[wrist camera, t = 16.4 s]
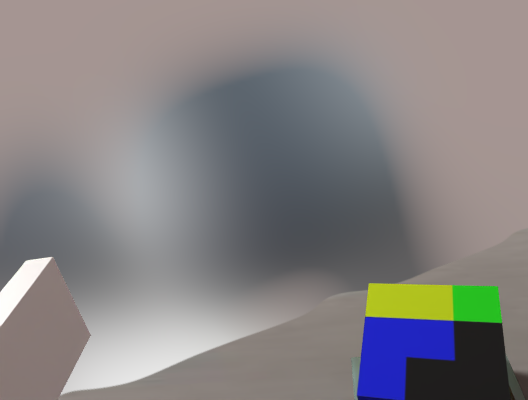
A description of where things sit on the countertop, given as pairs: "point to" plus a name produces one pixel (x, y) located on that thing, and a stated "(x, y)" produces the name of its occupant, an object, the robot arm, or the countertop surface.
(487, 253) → the countertop surface
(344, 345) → the countertop surface
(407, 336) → the puzzle toy
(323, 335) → the countertop surface
